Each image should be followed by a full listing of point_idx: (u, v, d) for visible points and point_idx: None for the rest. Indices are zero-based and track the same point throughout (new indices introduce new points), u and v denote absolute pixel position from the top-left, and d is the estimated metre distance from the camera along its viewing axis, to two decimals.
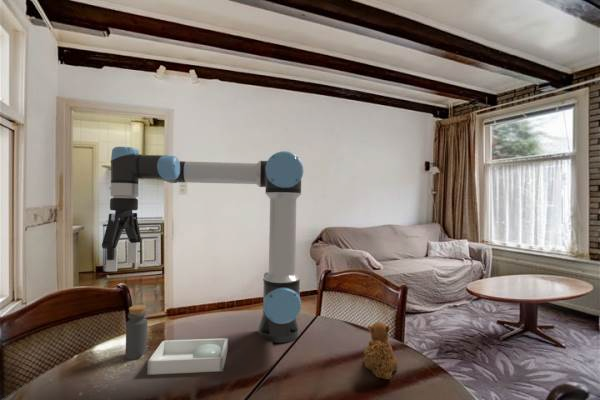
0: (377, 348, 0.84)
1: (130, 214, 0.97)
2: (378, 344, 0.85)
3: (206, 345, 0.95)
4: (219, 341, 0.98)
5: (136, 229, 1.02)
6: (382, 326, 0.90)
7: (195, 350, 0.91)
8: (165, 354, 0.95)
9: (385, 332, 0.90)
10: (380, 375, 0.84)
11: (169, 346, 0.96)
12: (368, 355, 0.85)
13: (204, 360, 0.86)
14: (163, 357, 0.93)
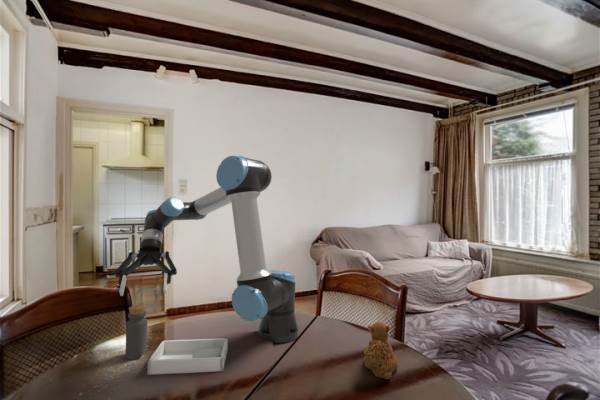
0: (377, 348, 0.85)
1: (155, 252, 1.17)
2: (378, 344, 0.85)
3: (206, 345, 0.95)
4: (219, 341, 0.98)
5: (169, 263, 1.15)
6: (382, 325, 0.90)
7: (195, 350, 0.91)
8: (165, 354, 0.95)
9: (385, 332, 0.90)
10: (380, 375, 0.84)
11: (169, 346, 0.96)
12: (368, 355, 0.85)
13: (204, 360, 0.86)
14: (163, 357, 0.93)
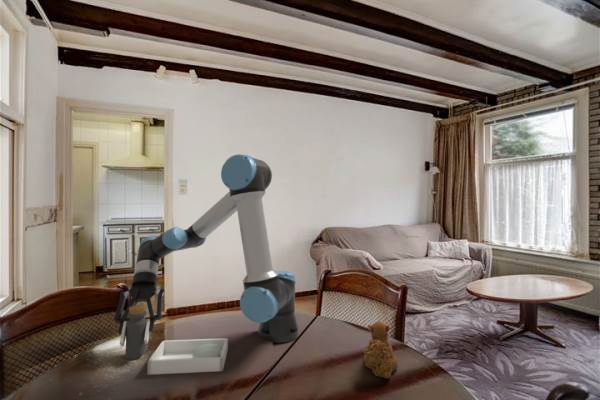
0: (376, 347, 0.85)
1: (150, 286, 1.05)
2: (377, 343, 0.86)
3: (205, 345, 0.95)
4: (219, 341, 0.98)
5: (157, 304, 1.01)
6: (382, 325, 0.91)
7: (195, 350, 0.91)
8: (165, 354, 0.95)
9: (385, 331, 0.90)
10: (379, 374, 0.84)
11: (169, 346, 0.96)
12: (367, 354, 0.85)
13: (204, 360, 0.86)
14: (163, 357, 0.93)
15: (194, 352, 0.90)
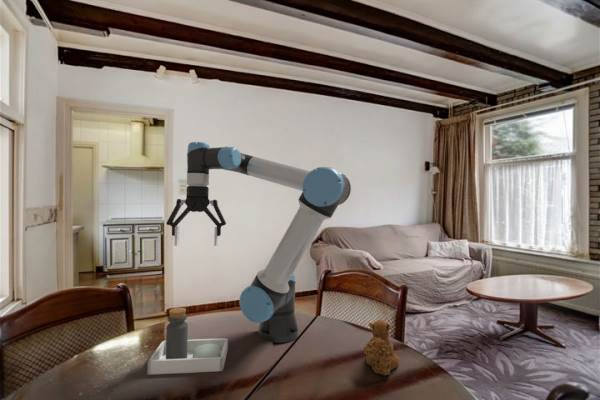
0: (375, 344, 0.87)
1: (202, 200, 1.10)
2: (377, 341, 0.87)
3: (202, 346, 0.94)
4: (219, 341, 0.98)
5: None
6: (383, 323, 0.92)
7: (195, 352, 0.90)
8: (165, 354, 0.95)
9: (385, 330, 0.91)
10: (378, 371, 0.86)
11: None
12: (367, 351, 0.87)
13: (204, 360, 0.86)
14: (163, 357, 0.93)
15: (196, 353, 0.89)
